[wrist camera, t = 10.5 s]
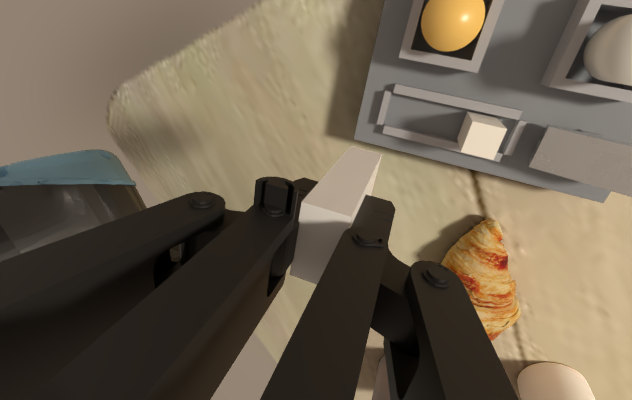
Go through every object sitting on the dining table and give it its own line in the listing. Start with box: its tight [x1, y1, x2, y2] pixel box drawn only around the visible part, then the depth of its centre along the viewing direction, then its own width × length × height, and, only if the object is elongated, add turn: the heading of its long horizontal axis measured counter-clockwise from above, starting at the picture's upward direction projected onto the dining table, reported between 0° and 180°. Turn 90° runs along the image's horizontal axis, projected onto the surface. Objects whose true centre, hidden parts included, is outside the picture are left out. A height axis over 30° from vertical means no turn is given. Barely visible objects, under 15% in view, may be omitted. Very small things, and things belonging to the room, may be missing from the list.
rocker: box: [528, 124, 632, 197], centre depth 27 cm, size 8×4×2 cm, turn 81°
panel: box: [354, 0, 632, 203], centre depth 29 cm, size 24×16×7 cm, turn 81°
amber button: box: [421, 0, 485, 52], centre depth 26 cm, size 4×4×4 cm
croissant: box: [441, 218, 521, 340], centre depth 40 cm, size 21×10×8 cm
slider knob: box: [457, 111, 507, 160], centre depth 28 cm, size 3×3×5 cm
